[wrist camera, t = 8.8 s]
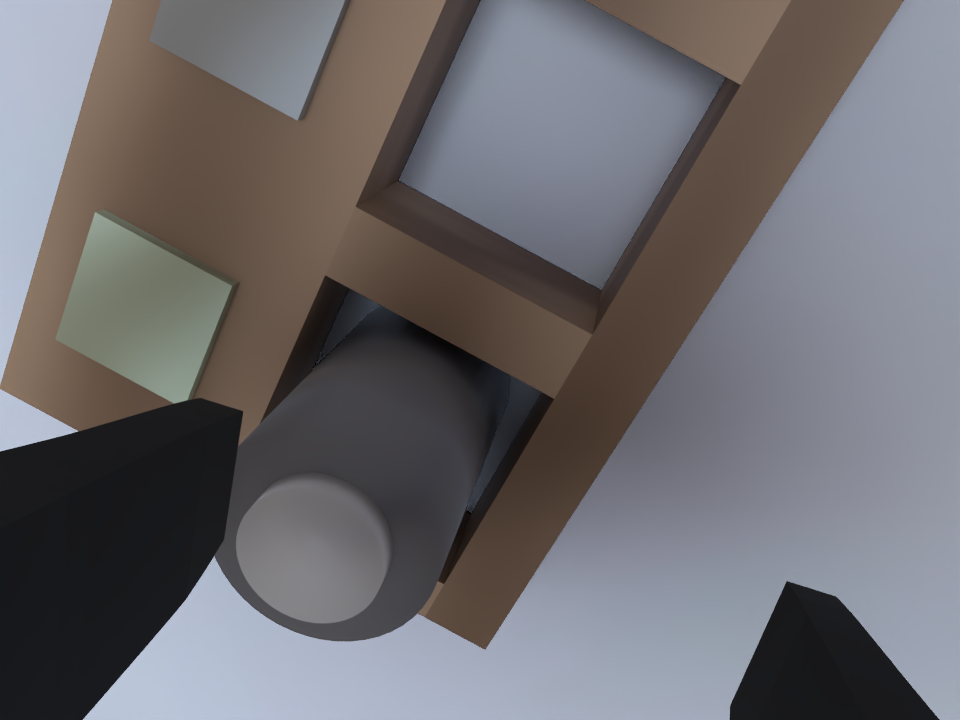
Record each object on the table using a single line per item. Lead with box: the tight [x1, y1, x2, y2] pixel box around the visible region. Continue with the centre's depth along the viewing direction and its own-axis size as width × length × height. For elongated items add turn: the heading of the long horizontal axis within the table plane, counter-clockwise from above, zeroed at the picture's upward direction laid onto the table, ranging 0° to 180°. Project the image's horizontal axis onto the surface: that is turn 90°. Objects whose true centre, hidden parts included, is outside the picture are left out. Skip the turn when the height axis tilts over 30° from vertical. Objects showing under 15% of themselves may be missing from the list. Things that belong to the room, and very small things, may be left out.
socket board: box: [0, 0, 904, 649], centre depth 17 cm, size 12×20×3 cm, turn 153°
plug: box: [214, 306, 509, 641], centre depth 18 cm, size 4×4×8 cm
